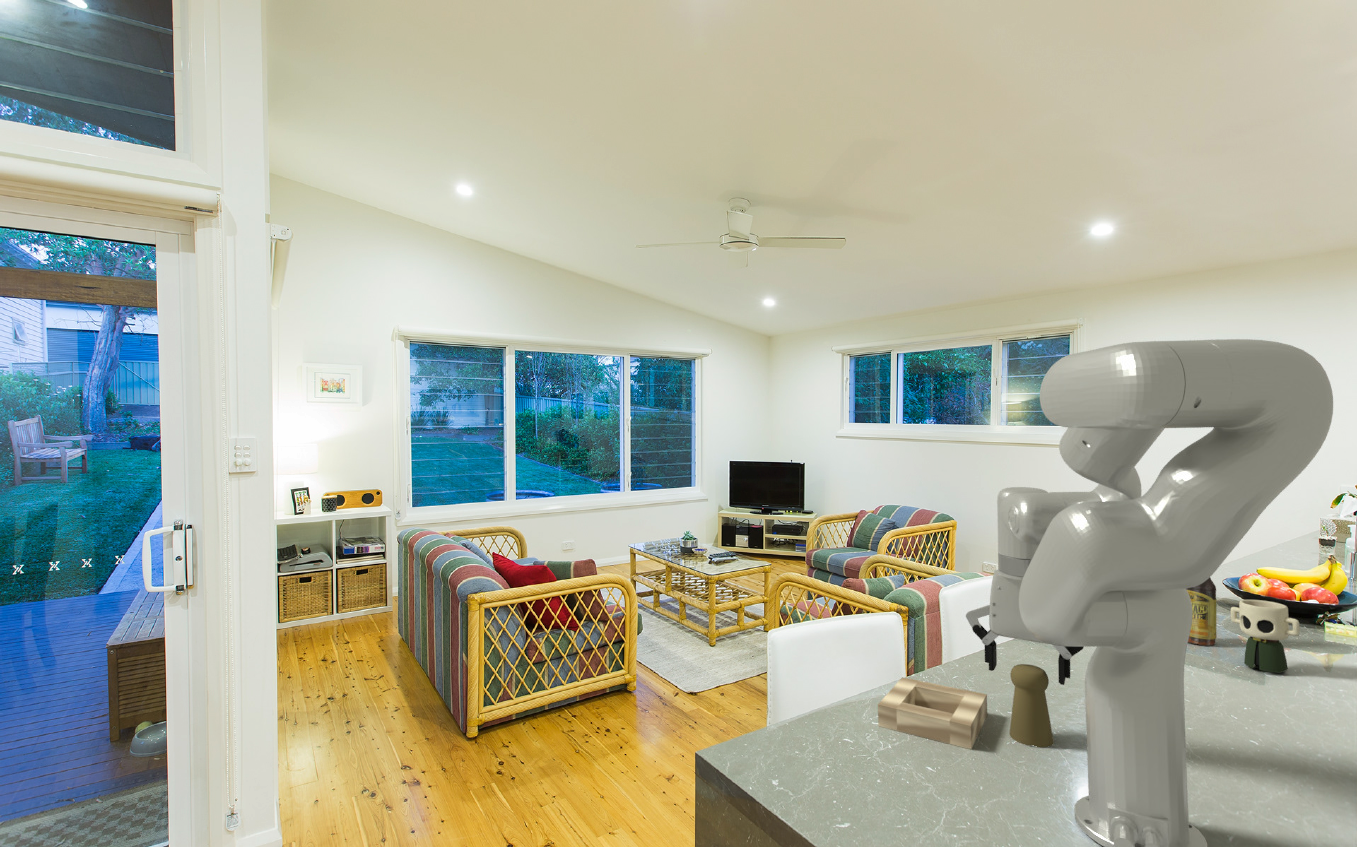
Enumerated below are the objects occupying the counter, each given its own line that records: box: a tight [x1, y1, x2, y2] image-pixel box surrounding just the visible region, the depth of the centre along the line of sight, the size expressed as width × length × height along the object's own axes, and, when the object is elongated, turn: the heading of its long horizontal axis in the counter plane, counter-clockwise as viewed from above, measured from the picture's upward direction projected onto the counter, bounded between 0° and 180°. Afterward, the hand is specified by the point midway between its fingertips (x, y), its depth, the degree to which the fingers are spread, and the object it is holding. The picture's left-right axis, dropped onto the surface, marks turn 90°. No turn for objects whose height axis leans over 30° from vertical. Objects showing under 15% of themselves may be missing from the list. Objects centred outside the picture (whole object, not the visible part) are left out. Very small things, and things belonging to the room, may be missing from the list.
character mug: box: [1230, 599, 1301, 673], centre depth 124 cm, size 11×7×13 cm, turn 22°
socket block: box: [877, 677, 988, 750], centre depth 104 cm, size 14×14×4 cm
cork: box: [1009, 663, 1055, 748], centre depth 97 cm, size 6×6×11 cm
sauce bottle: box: [1186, 577, 1218, 647], centre depth 140 cm, size 6×6×20 cm
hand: (1026, 674), depth 98 cm, fingers open, 9 cm apart
